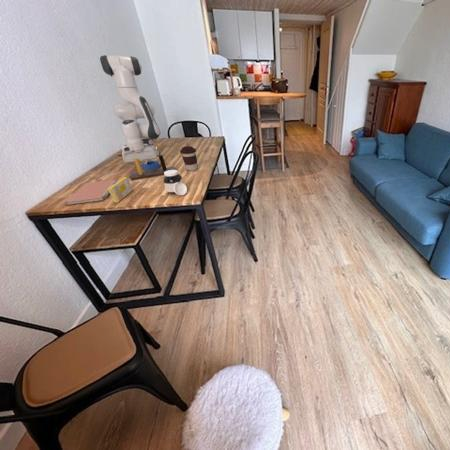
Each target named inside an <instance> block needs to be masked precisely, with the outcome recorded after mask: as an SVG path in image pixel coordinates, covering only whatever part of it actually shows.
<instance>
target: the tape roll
mask: <svg viewBox="0 0 450 450" xmlns="http://www.w3.org/2000/svg"><path fill="white" fill-rule="evenodd" d="M145 162H146V161H143V162H142V163H141V164H142V167H141V168H142V171H149V170H155V169H160V168H161V163H160V161H158V160H149V161H148V160H147V165H144V163H145Z"/></svg>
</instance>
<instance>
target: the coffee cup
mask: <svg viewBox="0 0 450 450" xmlns="http://www.w3.org/2000/svg"><path fill="white" fill-rule="evenodd" d="M179 153H180V154H181V157H182V160H183V163H184V166H185V168H186V170H187V171H190V172H191V171H196V170H198V167H199V166H198V159H197V154H196V153H197V149H196V148H195V147H193V146H191V145H187V146H183V147H181V149H180V150H179Z"/></svg>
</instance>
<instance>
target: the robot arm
mask: <svg viewBox="0 0 450 450" xmlns="http://www.w3.org/2000/svg"><path fill="white" fill-rule="evenodd" d="M99 65H100V68H101V70H102V71H103V72H104V73H105V74H106V75H108V76H110V77H111V78H113V77H114V82H115V84H116V90H117V93H118V95H119V97H120V98H121V99H122V100H123V101H124V102H122V103H118V104H115V105H114V107H113V112H114V115H115V116H116V117H117V118H118V119H120V120H122V122H121V128H122V131H123V134H124V137H125V138H126V143H127V144H125V145H122V146H121V151H122V152H121V154H117V155H118V156H119V157H122V161H123V162H124V163H132V162H133V163H134V162H135V161H134V159H135V158H138V159H139V162H140V161H144V162H145V163H144V162H143V163H144V165H147V162H148V160H154V159H157V158H158V157H159V156H158V155H160V152H159V150H158V148H157V146H156V143H155V142H154V140H157V139H158V138H159V137H160V136H161V129H160V127H159V125H158V123H157V122H156V120H155V118H154V116H155V113H156V112H155V111H156V110H155V107H154V106H153V105H152V104H151V103H150V102H149V101H147V99H146V98H145V97H144V96H142V94H141V93H140V91H139V88H138V85H137V81H136V78H135V77H137V76H141V74H142V70H143V69H142V64H141V62H140V60H139V59H138V58H137V57H135V56H131V55H130V56H127V55H122V54H118V55H113V54H112V55H106V54H105V55H104V54H103V55H100V57H99ZM139 119H145V121H146V123H142V122H139V121H138V120H139ZM140 165H141V168H143V167H142V163H140Z"/></svg>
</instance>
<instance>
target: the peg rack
mask: <svg viewBox="0 0 450 450" xmlns="http://www.w3.org/2000/svg"><path fill="white" fill-rule="evenodd" d="M157 157H158V158H159V163H160V168H157V169H153V170H143V167H141V165H140V164H141V162H140V161H139V159H138V158H135V159H134V161H133V162H134V163H135V164H134V165H135V166H136V170H137V172H131V173H130V180H131V181H136V180H142V179H147V178H153V177H154V178H155V177H159V176H165V175H164V172H165V171H168V170H176V169H175V167H174V166H168V167H167V166H166V163H165V159H164V156H163V154H159V155H158V156H157Z"/></svg>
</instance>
